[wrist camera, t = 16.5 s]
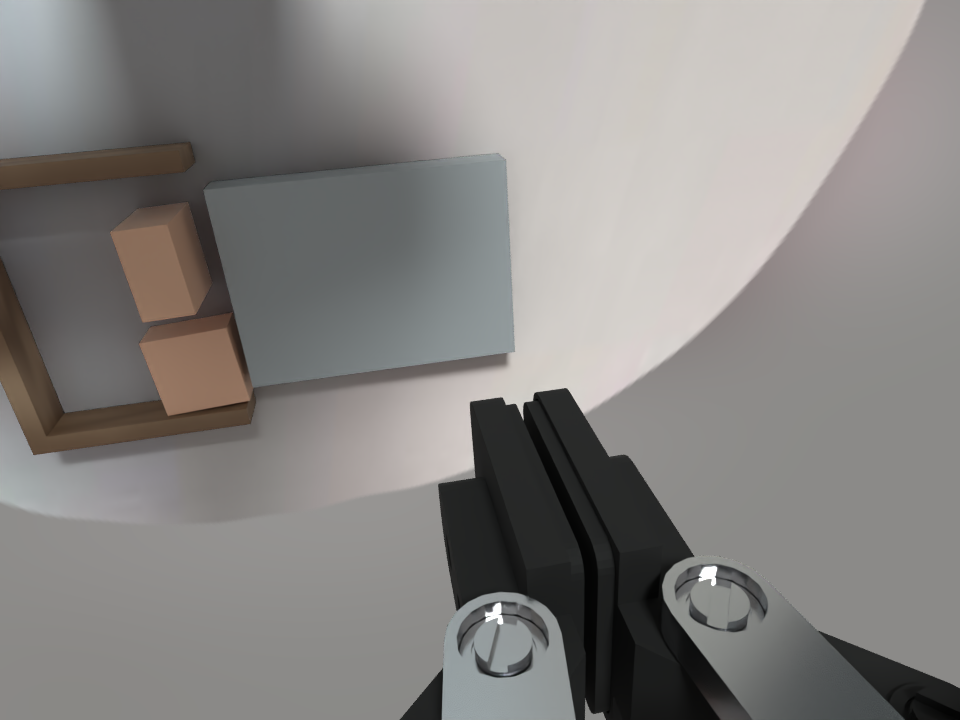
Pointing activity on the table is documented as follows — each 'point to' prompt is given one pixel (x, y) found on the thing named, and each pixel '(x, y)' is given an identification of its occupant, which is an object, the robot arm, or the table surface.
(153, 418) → the tray
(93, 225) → the table surface
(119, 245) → the tile
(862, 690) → the robot arm
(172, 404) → the tile
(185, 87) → the table surface
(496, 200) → the board
